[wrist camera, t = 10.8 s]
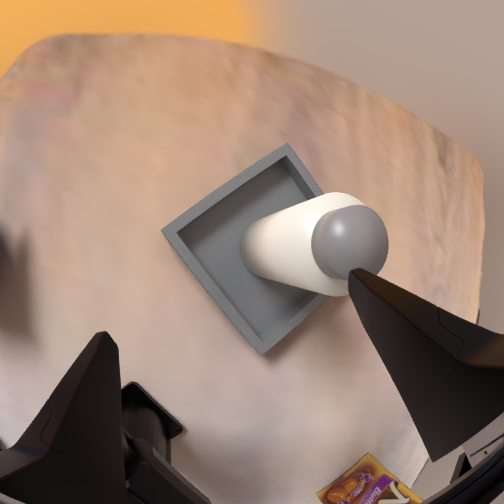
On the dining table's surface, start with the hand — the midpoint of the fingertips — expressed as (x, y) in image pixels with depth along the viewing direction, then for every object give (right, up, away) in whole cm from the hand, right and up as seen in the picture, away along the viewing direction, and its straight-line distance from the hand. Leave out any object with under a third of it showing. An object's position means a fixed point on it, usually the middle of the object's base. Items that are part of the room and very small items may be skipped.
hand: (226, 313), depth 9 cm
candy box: (+13, -28, +17) cm, 35 cm away
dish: (+2, +2, +14) cm, 14 cm away
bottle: (+2, +2, +13) cm, 14 cm away
